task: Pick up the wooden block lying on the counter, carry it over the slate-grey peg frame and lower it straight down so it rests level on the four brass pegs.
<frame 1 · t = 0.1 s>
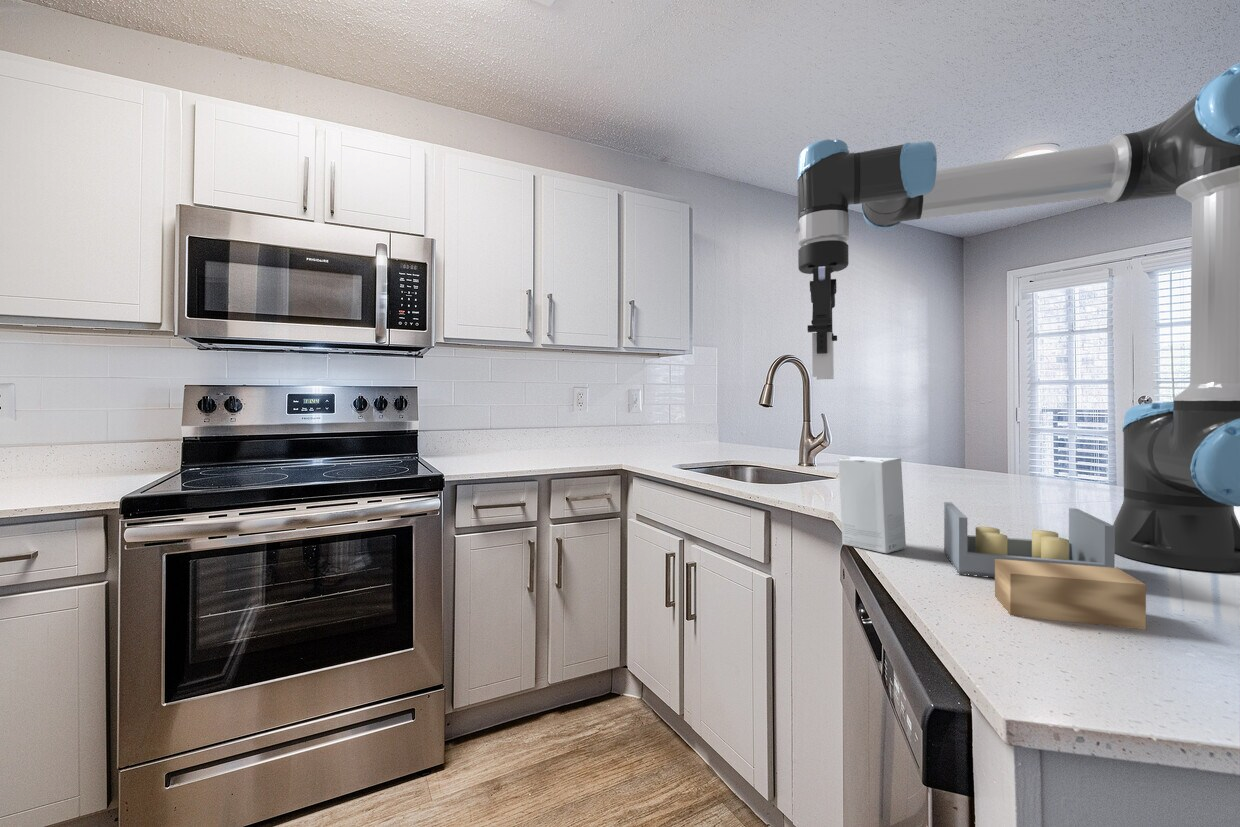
hand: (823, 378, 88), 28 cm above the countertop, tool pointing down, fingers open, 13 cm apart
peg frame: (1019, 568, 78), on the countertop
skincare box: (871, 547, 91), on the countertop
wooden block: (1064, 614, 63), on the countertop
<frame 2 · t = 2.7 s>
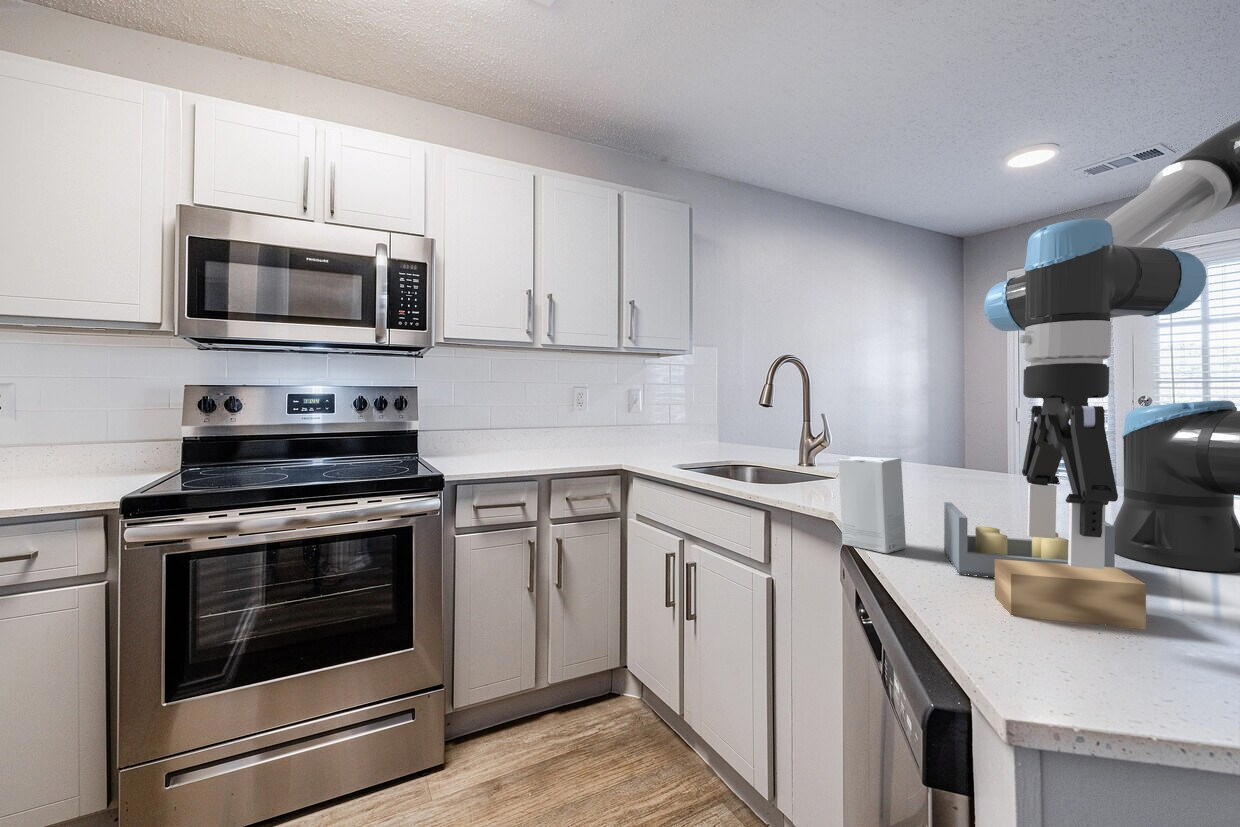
hand: (1061, 550, 62), 7 cm above the countertop, tool pointing down, fingers open, 13 cm apart
nothing on the countertop moved.
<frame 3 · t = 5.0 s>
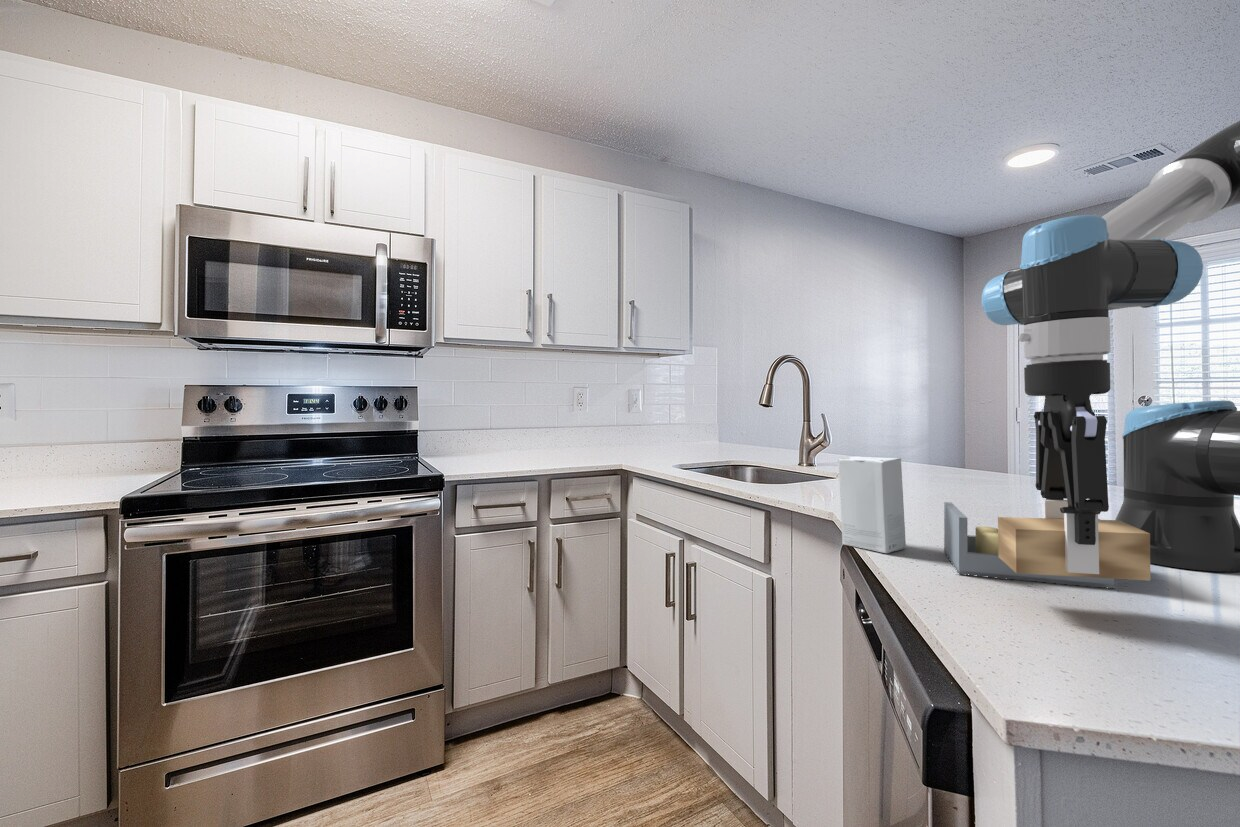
hand: (1069, 562, 63), 6 cm above the countertop, tool pointing down, fingers closed on wooden block, 6 cm apart
wooden block: (1068, 568, 63), point 5 cm above the countertop, touching gripper
everything else where it was.
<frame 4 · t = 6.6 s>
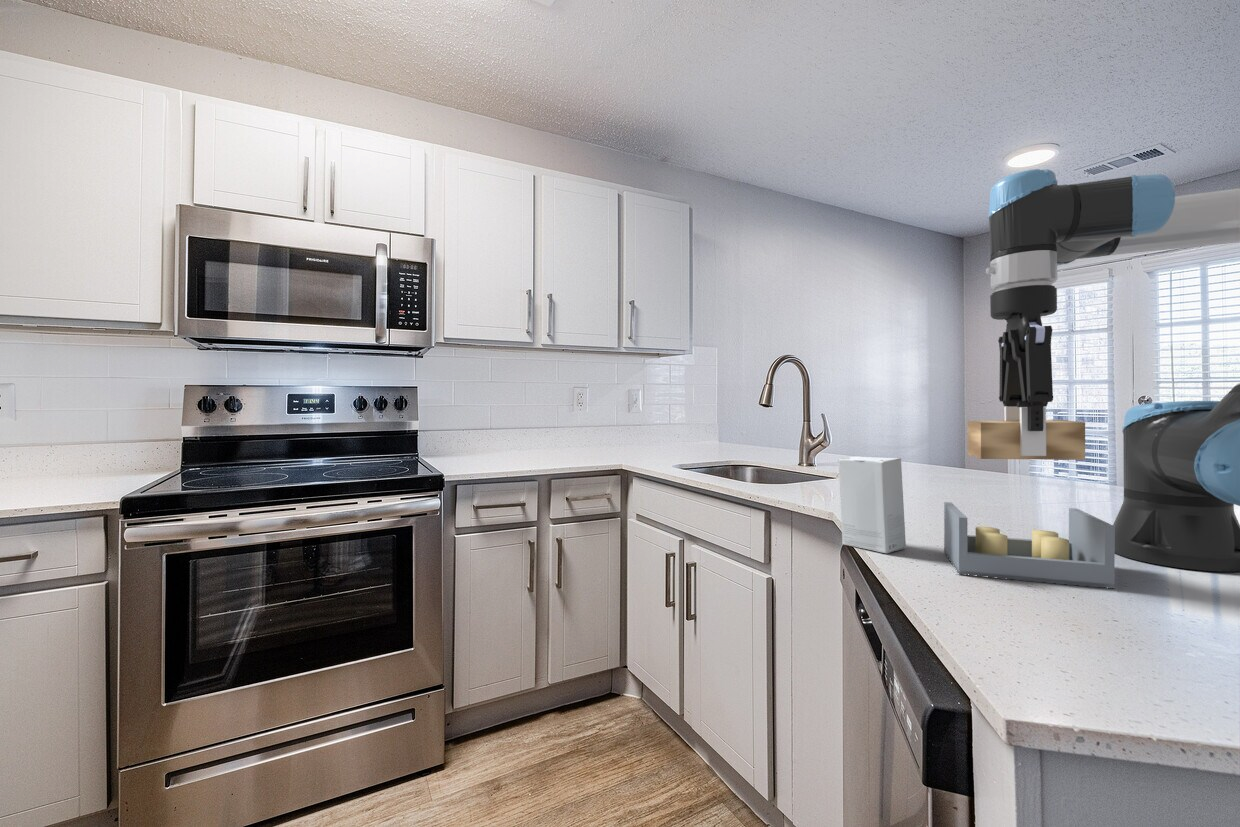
hand: (1024, 452, 77), 17 cm above the countertop, tool pointing down, fingers closed on wooden block, 6 cm apart
wooden block: (1022, 457, 77), point 16 cm above the countertop, touching gripper
everything else where it was.
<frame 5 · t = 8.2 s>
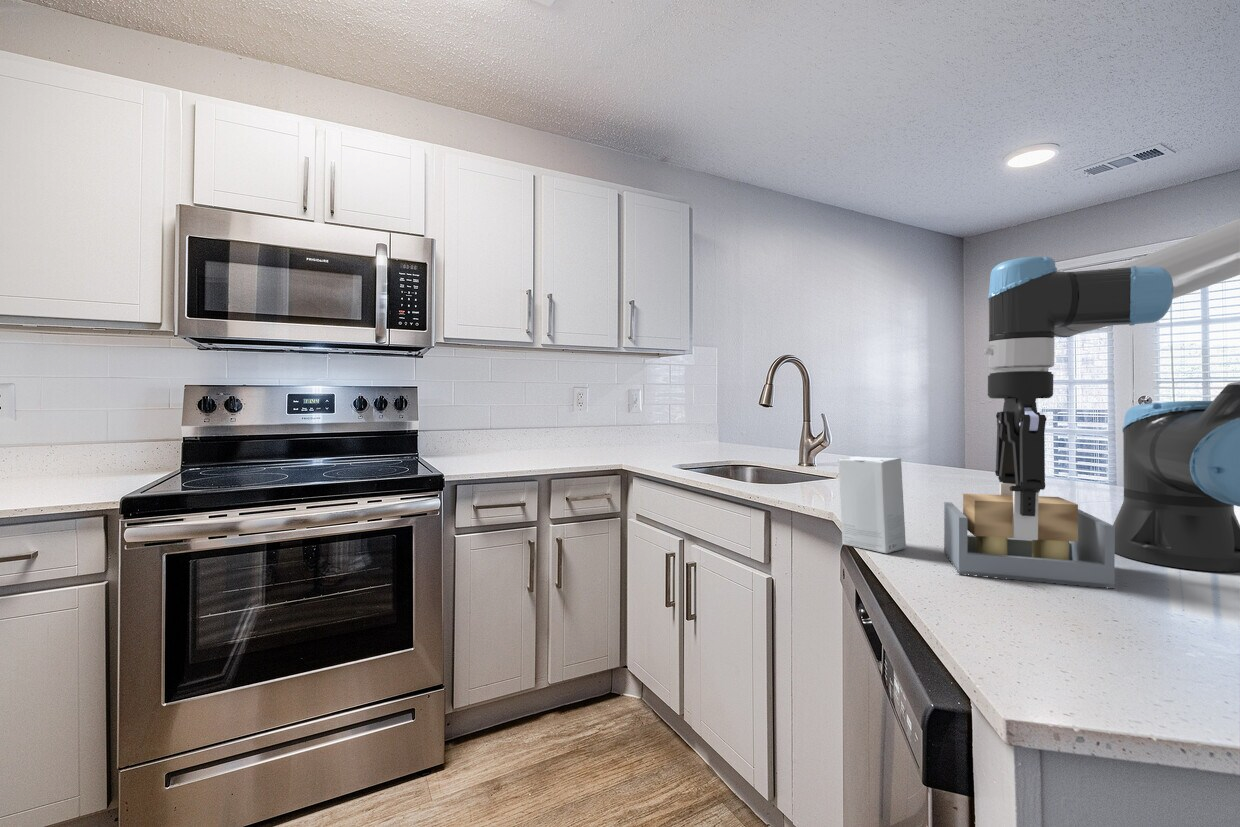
hand: (1017, 532, 78), 5 cm above the countertop, tool pointing down, fingers closed on wooden block, 6 cm apart
wooden block: (1016, 533, 78), point 5 cm above the countertop, touching gripper, peg frame
everything else where it was.
when the fingers open (5 cm above the countertop, at t = 8.6 s): wooden block stays where it is, resting on peg frame.
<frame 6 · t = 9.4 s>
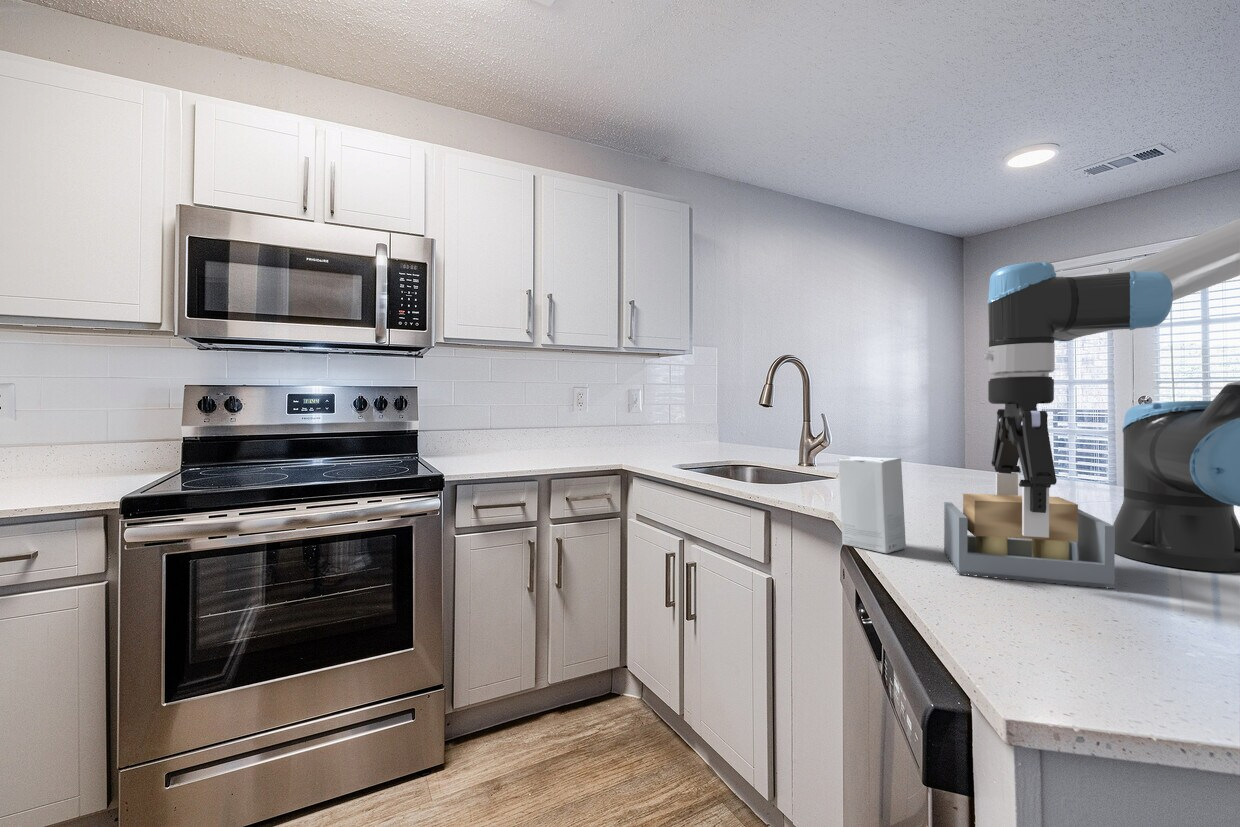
hand: (1019, 525, 78), 6 cm above the countertop, tool pointing down, fingers open, 13 cm apart
wooden block: (1016, 533, 78), point 5 cm above the countertop, touching peg frame
everything else where it was.
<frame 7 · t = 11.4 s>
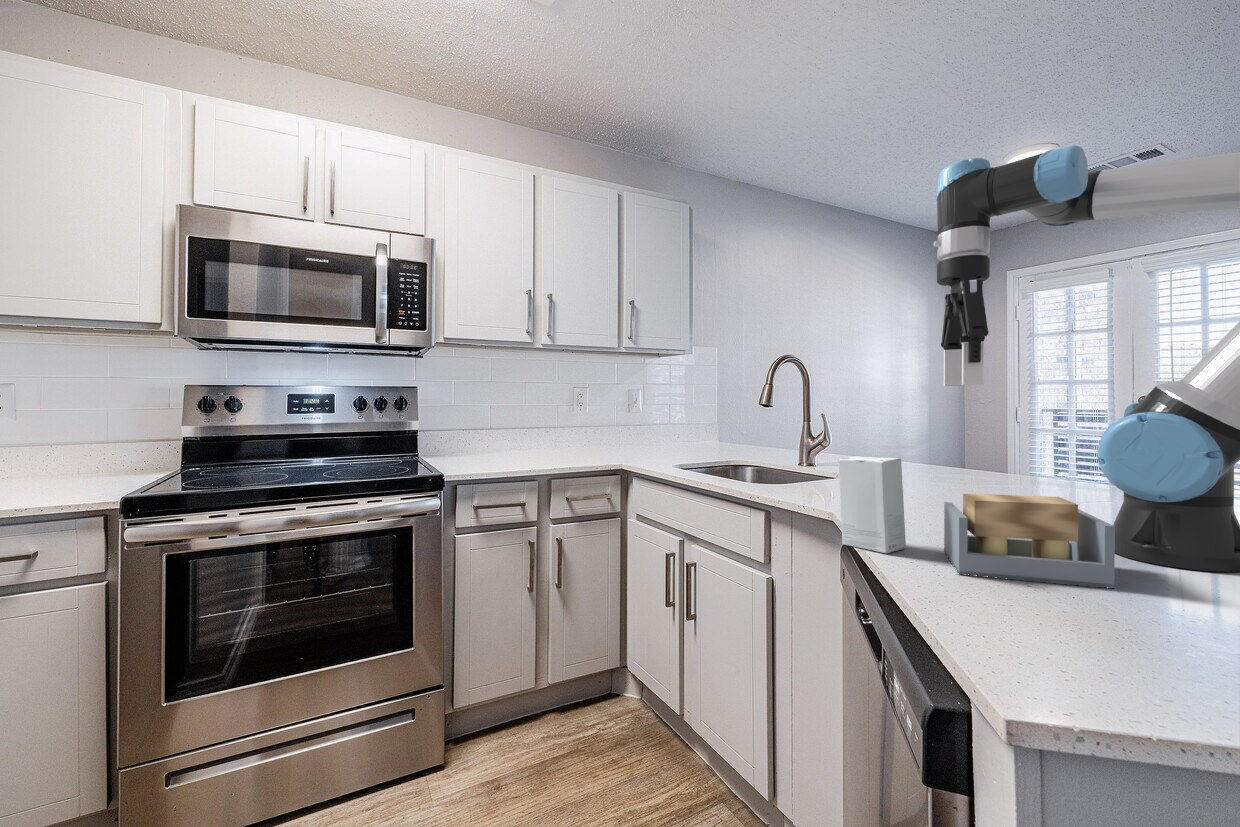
hand: (961, 385, 93), 27 cm above the countertop, tool pointing down, fingers open, 13 cm apart
nothing on the countertop moved.
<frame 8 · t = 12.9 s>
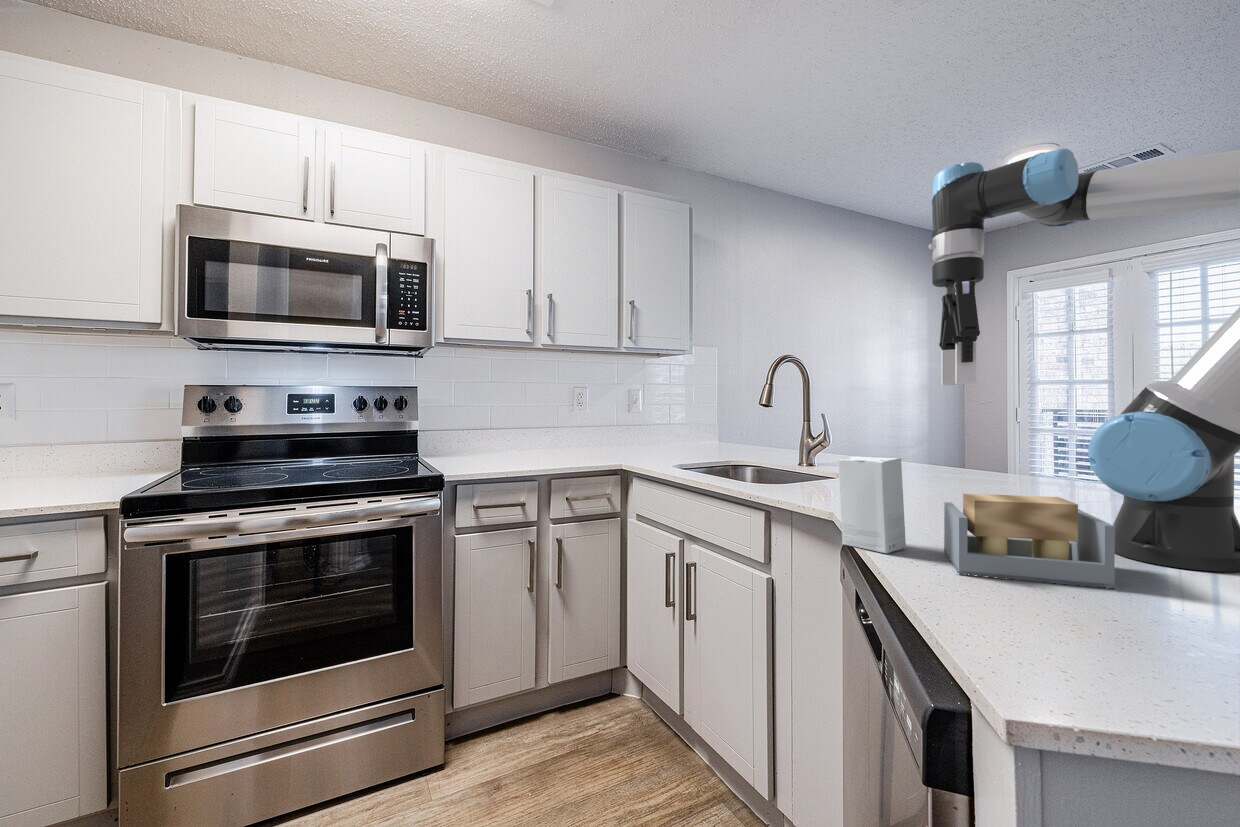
hand: (957, 384, 94), 27 cm above the countertop, tool pointing down, fingers open, 13 cm apart
nothing on the countertop moved.
at the end: wooden block 0.3 cm off-centre on the peg frame, point 5.0 cm above the peg frame's base; wooden block tilted 0°; wooden block touching peg frame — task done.
